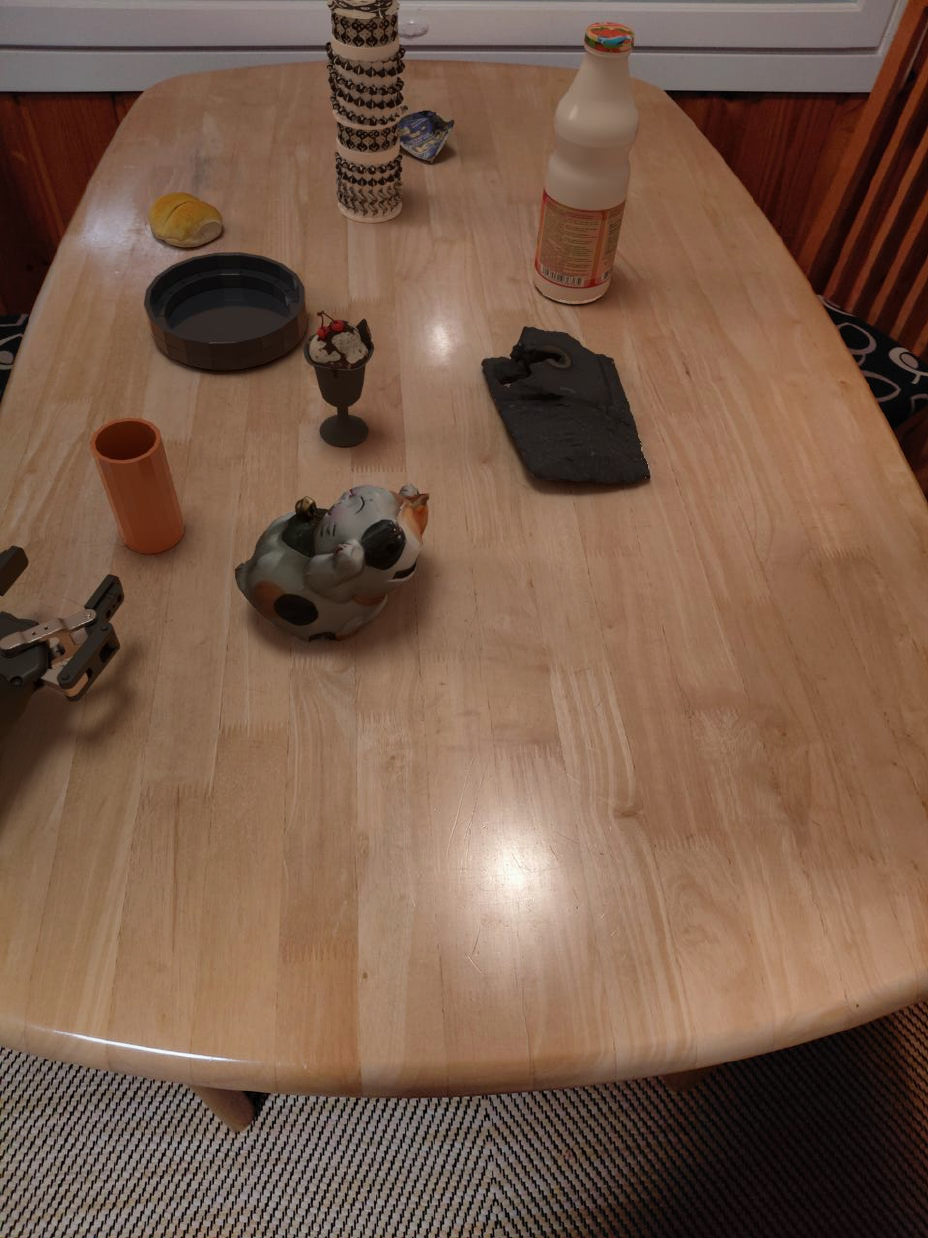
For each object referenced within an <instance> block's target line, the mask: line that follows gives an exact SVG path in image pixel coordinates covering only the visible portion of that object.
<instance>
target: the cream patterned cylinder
mask: <svg viewBox="0 0 928 1238" xmlns="http://www.w3.org/2000/svg"><path fill="white" fill-rule="evenodd" d="M326 5H327V7H328V9H329V10H330V12H331V15H330V22H331V31H330V35H329V36H330V41H327V42H326V43H325V44H324V49H325V51H326V56H327V57H328V63H327V64H326V69H327V70H328V71H329V76H328V78H327V81H328V83H329V89H330V90H331V95H330V97H329V100H330V102H331V103H332V104H331V106H332V116H333V118H334V120H335V121H336V128H337V135H336V138H335V140H336V141H335V143H336V151H335V152H334V157H335V162H336V163H335V165H334V166H335V169H336V175H337V176H336V178H335V184H336V188H337V189H336V196H337V200H338V203H337V208H338V210H339V212H340V214H341V215H343V216H344V217H346V218H347V219H349V220H352V221H355V222H357V223H366V224H376V223H377V224H378V223H384V222H385V223H386V222H387V221H389V220H392V219H395V218H396V217H397V216H399V214H400V213H402V209H403V202H402V197H403V193H402V192H401V191H402V186H403V184H404V182H403V181H402V172H403V167H402V160H403V154H402V151H401V145H400V138H399V136H398V121H400V120H401V118H402V116H403V114H402V110H401V108H400V105H402V104H403V101H404V100H405V98H404V95H403V93H402V92H401V91H403V88H404V86H405V81H404V80H402V78H401V77H400V76H398V75H400V74H402V73H404V70H405V69H406V64H405V63H404V61H403V60H402V59H404V58H405V54H406V52H407V51H406V48H405V47H404V46H403V45H402V44H401V43H400V33H399V29H398V27H399V15H398V13H399V11H400V7H401V4H400V3H399V1H398V0H328V1H327V3H326Z"/></svg>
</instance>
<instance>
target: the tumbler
mask: <svg viewBox="0 0 928 1238" xmlns="http://www.w3.org/2000/svg"><path fill="white" fill-rule="evenodd" d="M89 446H90V452H91V454H92V457H93V459H94V462H95V465H96V468H97V471H98V474H99V477H100V480H101V482H102V486H103V489H104V491H105V495H106V497H107V500H108V503H109V506H110V508H111V511H112V514H113V517H114V520H115V523H116V526H117V528H118V532H119V535H120V537H121V539H122V541H123V543H124V545H125V546H126V547H127V548H128V549H129V550H132V551H134V552H136V553H140V554H144V555H145V554H146V555H152V554H159V553H162V552H165V551H168V550H170V549H172V548H174V547H175V546H176V545H177V544H179V542H180V541H181V540H182V538H183V536H184V534H185V530H186V529H185V528H186V526H185V521H184V517H183V513H182V509H181V506H180V503H179V499H178V495H177V491H176V487H175V483H174V480H173V475H172V472H171V469H170V465H169V461H168V457H167V453H166V449H165V446H164V442H163V439H162V434H161V430H160V429H159V427H157V426H156V425H155V424H154V423H153V422H151V421H149V420H147V419H144V418H140V417H139V418H138V417H124V418H119V419H118V418H117V419H114V420H111V421H109V422H107V423H104V424H102V425H101V426H100V427H99V428H98V429H97V430H96V431H95V432H93V435H92V437H91V439H90V441H89Z"/></svg>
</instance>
